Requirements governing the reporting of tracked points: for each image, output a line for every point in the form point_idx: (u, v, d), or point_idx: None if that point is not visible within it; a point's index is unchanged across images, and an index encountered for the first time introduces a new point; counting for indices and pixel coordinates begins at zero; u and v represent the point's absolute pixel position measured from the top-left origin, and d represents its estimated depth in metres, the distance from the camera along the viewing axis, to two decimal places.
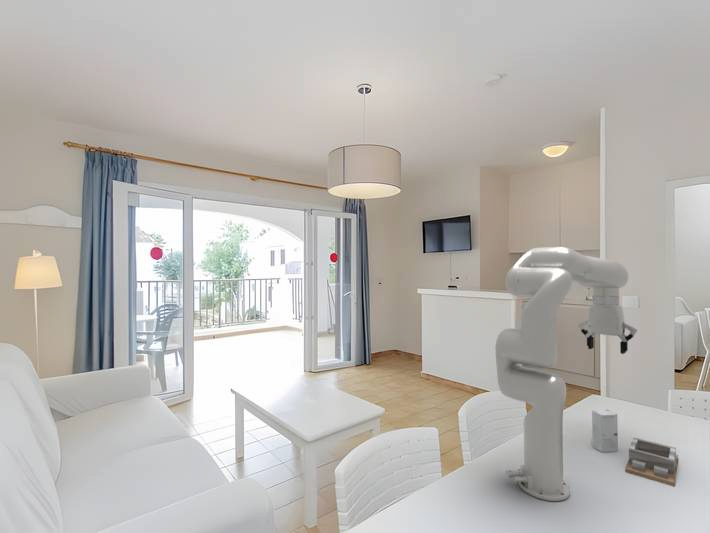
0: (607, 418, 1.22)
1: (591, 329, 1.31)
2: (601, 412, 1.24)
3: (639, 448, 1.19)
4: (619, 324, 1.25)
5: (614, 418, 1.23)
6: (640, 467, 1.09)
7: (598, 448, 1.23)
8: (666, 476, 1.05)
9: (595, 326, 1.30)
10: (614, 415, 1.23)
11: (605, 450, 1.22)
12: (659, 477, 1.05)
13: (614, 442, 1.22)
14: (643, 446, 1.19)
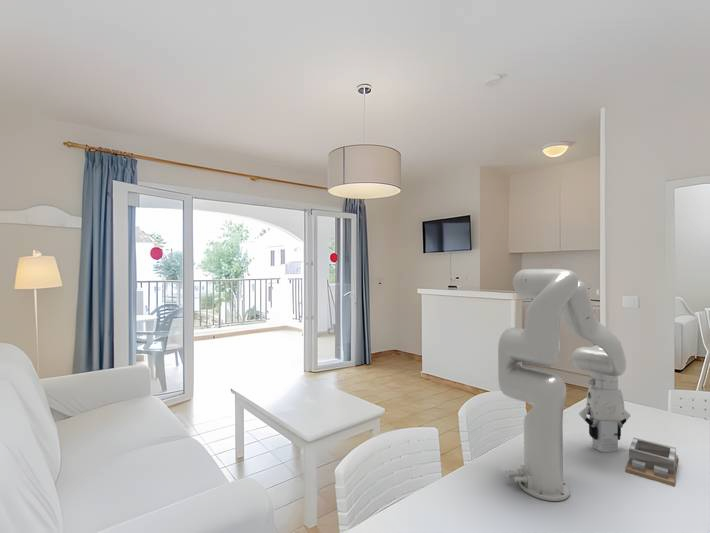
0: None
1: (598, 416, 1.22)
2: None
3: (639, 448, 1.19)
4: (624, 408, 1.22)
5: None
6: (640, 467, 1.09)
7: (598, 448, 1.23)
8: (666, 476, 1.05)
9: (602, 413, 1.22)
10: None
11: (605, 450, 1.22)
12: (659, 477, 1.05)
13: (614, 442, 1.22)
14: (643, 446, 1.19)
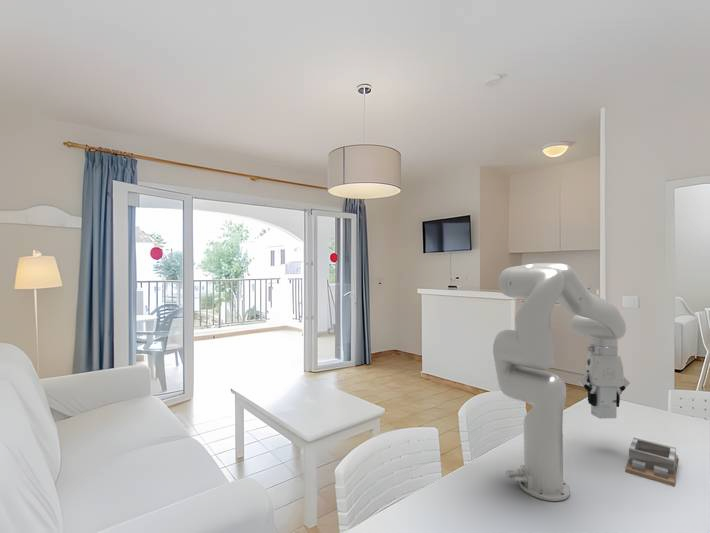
0: None
1: (597, 382, 1.22)
2: None
3: (639, 448, 1.19)
4: (623, 375, 1.22)
5: None
6: (640, 467, 1.09)
7: (597, 415, 1.23)
8: (666, 476, 1.05)
9: (601, 379, 1.22)
10: None
11: (604, 416, 1.22)
12: (659, 477, 1.05)
13: (613, 409, 1.22)
14: (643, 446, 1.19)
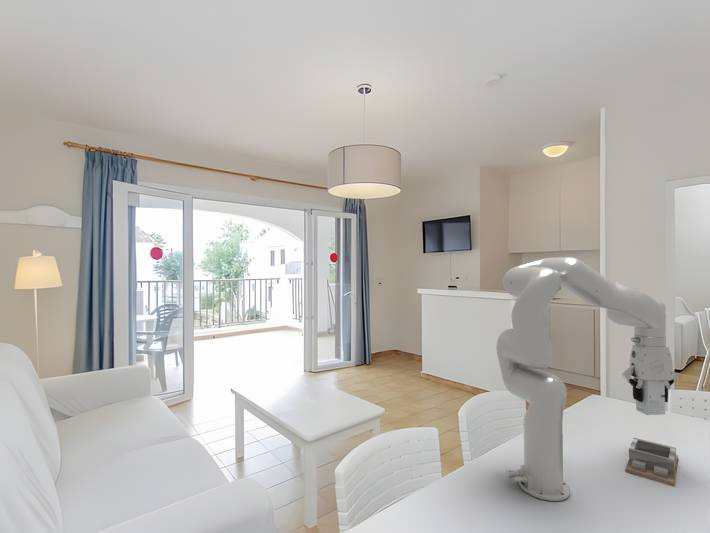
0: None
1: (644, 376, 1.12)
2: None
3: (639, 448, 1.19)
4: (672, 367, 1.12)
5: None
6: (640, 467, 1.09)
7: (643, 411, 1.13)
8: (666, 476, 1.05)
9: (648, 372, 1.12)
10: None
11: (652, 412, 1.12)
12: (659, 477, 1.05)
13: (661, 404, 1.12)
14: (643, 446, 1.19)
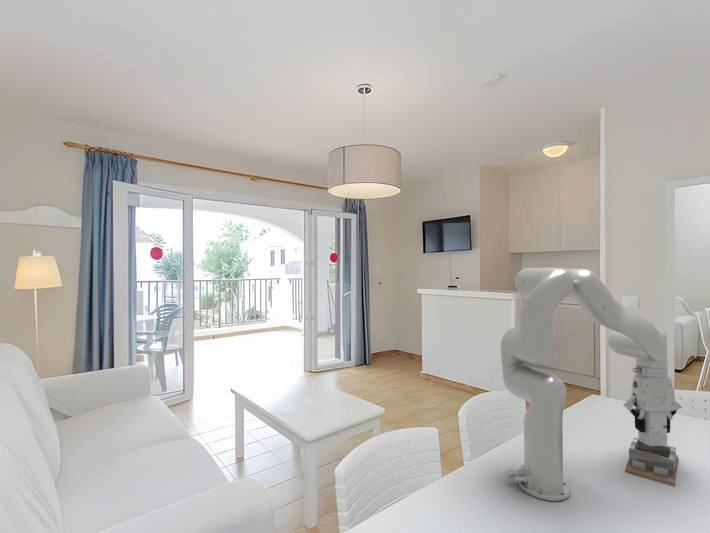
0: None
1: (646, 407, 1.11)
2: None
3: (639, 448, 1.19)
4: (674, 398, 1.11)
5: None
6: (640, 467, 1.09)
7: (646, 442, 1.13)
8: (666, 476, 1.05)
9: (650, 403, 1.11)
10: None
11: (654, 443, 1.12)
12: (659, 477, 1.05)
13: (663, 435, 1.12)
14: (643, 446, 1.19)
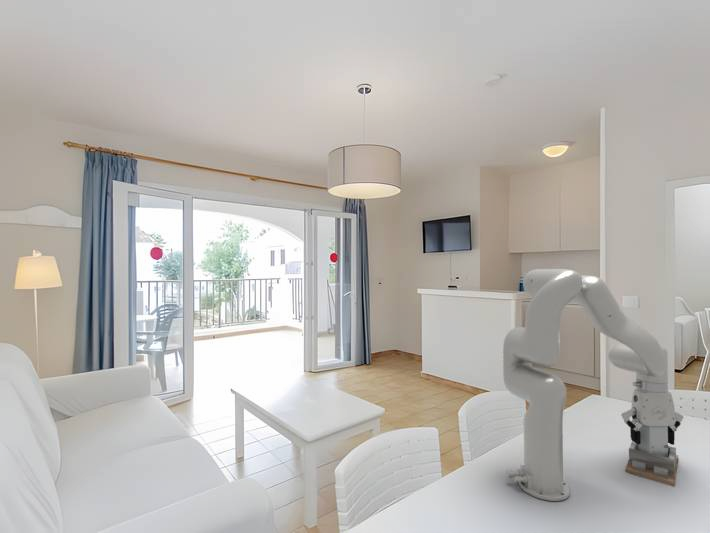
0: (656, 428, 1.12)
1: (646, 422, 1.11)
2: None
3: None
4: (674, 413, 1.11)
5: (664, 429, 1.12)
6: (640, 467, 1.09)
7: None
8: (666, 476, 1.05)
9: (650, 418, 1.11)
10: None
11: None
12: (659, 477, 1.05)
13: (664, 455, 1.12)
14: None
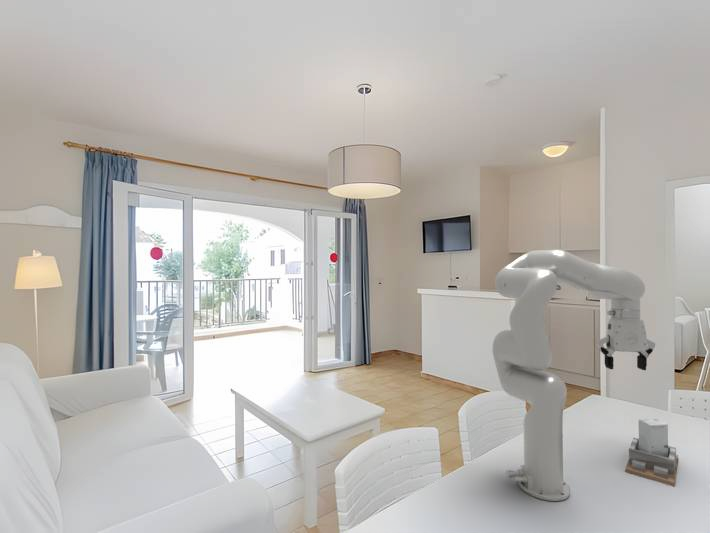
0: (656, 428, 1.12)
1: (618, 347, 1.17)
2: (649, 422, 1.14)
3: None
4: (646, 339, 1.17)
5: (664, 429, 1.12)
6: (640, 467, 1.09)
7: None
8: (666, 476, 1.05)
9: (622, 343, 1.17)
10: (664, 425, 1.12)
11: None
12: (659, 477, 1.05)
13: (664, 455, 1.12)
14: None
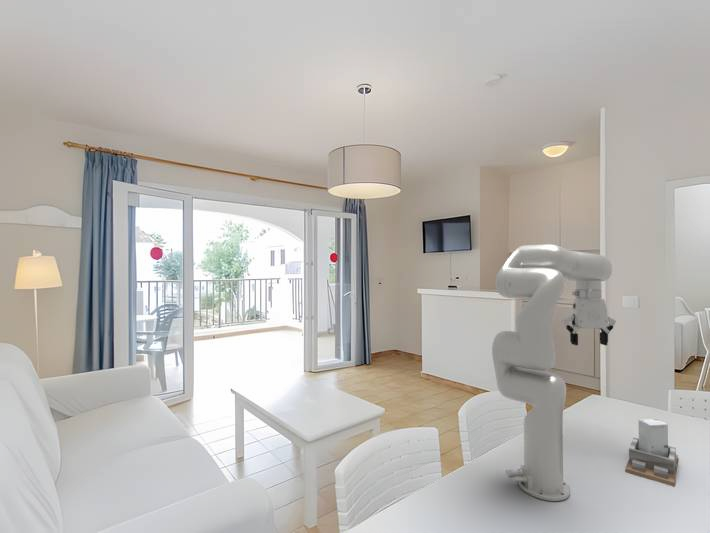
0: (656, 428, 1.12)
1: (582, 324, 1.27)
2: (649, 422, 1.14)
3: None
4: (607, 317, 1.27)
5: (664, 429, 1.12)
6: (640, 467, 1.09)
7: None
8: (666, 476, 1.05)
9: (586, 321, 1.27)
10: (664, 425, 1.12)
11: None
12: (659, 477, 1.05)
13: (664, 455, 1.12)
14: None
